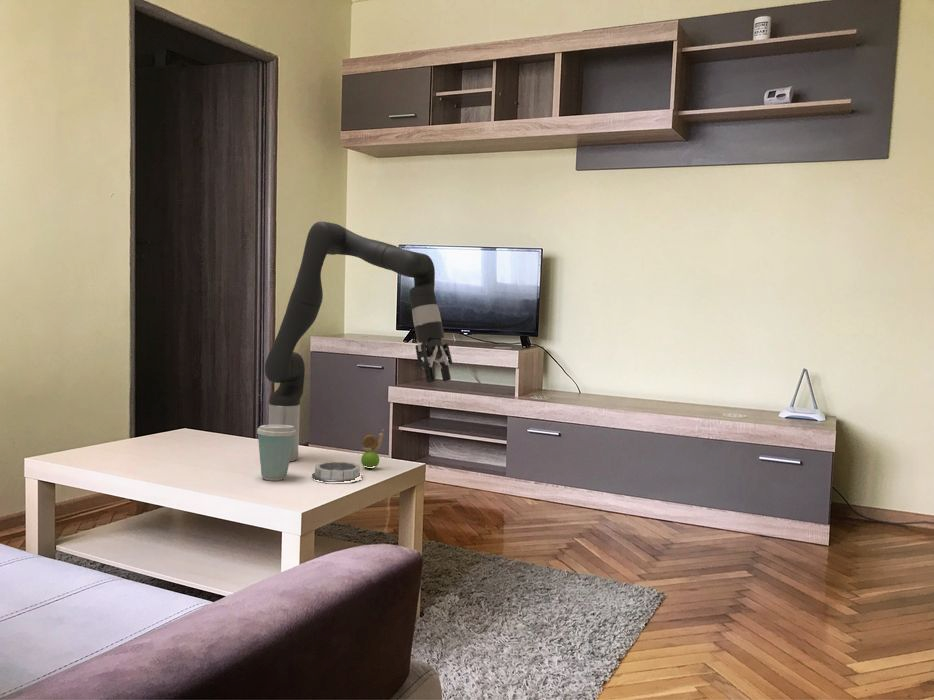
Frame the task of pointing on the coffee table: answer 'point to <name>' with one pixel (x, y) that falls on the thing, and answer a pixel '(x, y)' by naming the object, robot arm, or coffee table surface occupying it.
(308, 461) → the coffee table surface
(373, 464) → the snail figurine
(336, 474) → the collar base
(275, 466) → the disposable coffee cup
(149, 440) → the coffee table surface
